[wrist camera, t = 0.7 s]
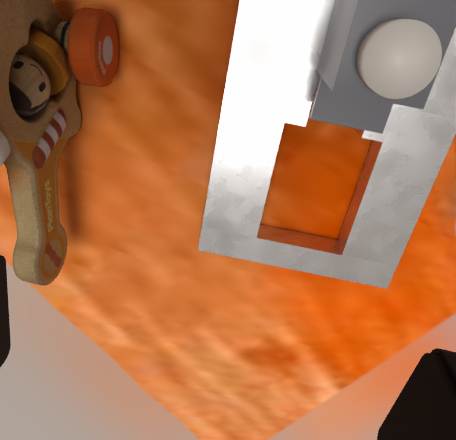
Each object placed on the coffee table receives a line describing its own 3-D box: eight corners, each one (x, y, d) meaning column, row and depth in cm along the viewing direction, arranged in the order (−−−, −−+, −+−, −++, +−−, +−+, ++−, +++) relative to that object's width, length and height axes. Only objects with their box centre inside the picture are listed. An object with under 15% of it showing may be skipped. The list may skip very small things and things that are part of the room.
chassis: (258, -97, 25) (257, -107, 23) (514, -46, 25) (537, -52, 23) (202, 235, 37) (197, 250, 34) (380, 271, 36) (387, 288, 34)
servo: (363, -109, 23) (417, -180, 14) (443, -93, 23) (546, -156, 14) (306, 108, 28) (321, 150, 20) (371, 121, 28) (413, 168, 20)
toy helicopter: (120, -6, 28) (6, -19, 16) (120, 248, 38) (48, 361, 26) (5, -22, 29) (-192, -46, 17) (34, 235, 38) (-78, 340, 26)
